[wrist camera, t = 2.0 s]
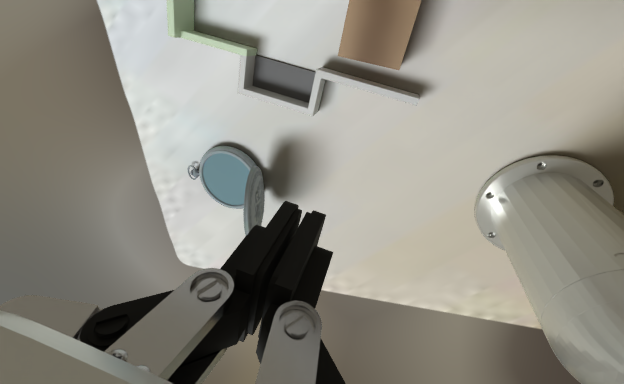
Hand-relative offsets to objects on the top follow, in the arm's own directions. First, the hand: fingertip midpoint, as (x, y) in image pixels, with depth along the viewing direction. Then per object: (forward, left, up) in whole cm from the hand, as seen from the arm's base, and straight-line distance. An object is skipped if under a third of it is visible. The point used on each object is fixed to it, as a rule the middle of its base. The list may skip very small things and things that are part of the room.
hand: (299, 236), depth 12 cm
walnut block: (+1, -8, -25) cm, 26 cm away
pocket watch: (+15, +15, -25) cm, 33 cm away
